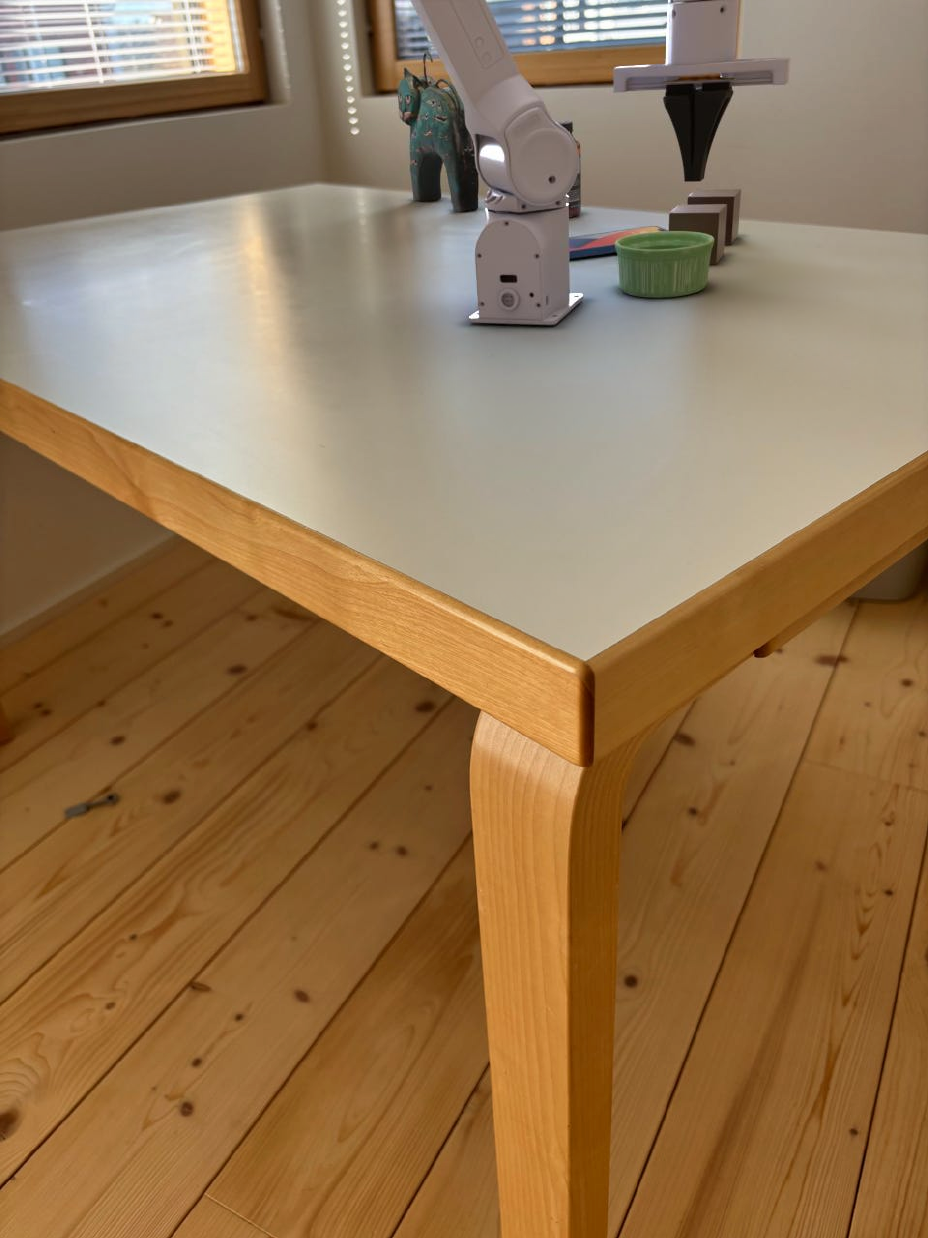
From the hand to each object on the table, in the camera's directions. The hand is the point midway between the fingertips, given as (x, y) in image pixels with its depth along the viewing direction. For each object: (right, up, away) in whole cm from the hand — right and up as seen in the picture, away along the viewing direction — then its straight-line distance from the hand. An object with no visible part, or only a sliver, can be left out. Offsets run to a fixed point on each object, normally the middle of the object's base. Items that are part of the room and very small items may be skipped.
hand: (694, 179), depth 89 cm
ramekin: (-2, -8, +5) cm, 10 cm away
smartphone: (-5, +2, +23) cm, 23 cm away
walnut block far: (+7, +3, +23) cm, 24 cm away
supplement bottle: (-8, +15, +44) cm, 47 cm away
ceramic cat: (-23, +23, +60) cm, 68 cm away
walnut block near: (+4, -2, +15) cm, 15 cm away
